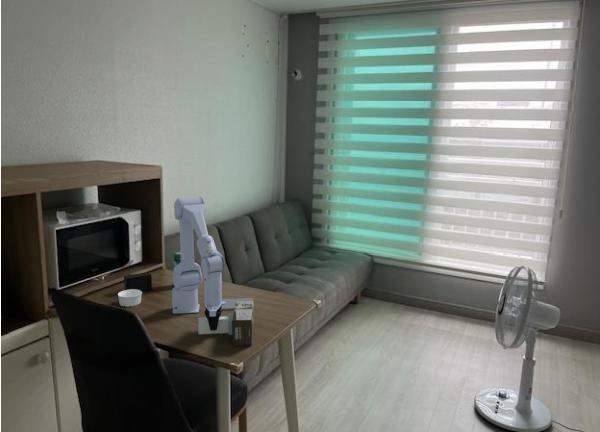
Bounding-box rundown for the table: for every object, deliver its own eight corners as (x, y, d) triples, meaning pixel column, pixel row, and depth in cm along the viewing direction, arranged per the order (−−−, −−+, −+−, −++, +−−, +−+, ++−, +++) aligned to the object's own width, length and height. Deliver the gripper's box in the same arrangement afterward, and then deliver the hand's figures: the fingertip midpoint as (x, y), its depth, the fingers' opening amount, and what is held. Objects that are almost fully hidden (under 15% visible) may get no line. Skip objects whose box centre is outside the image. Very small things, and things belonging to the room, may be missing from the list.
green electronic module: (174, 283, 204) (172, 251, 201) (187, 282, 206) (187, 250, 203) (175, 288, 198) (174, 254, 196) (189, 286, 201) (188, 253, 198)
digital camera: (148, 286, 200) (148, 271, 199) (152, 290, 196) (151, 274, 194) (123, 290, 195) (123, 274, 193) (126, 294, 190) (126, 278, 189)
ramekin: (119, 300, 184) (118, 290, 183) (142, 298, 186) (141, 288, 186) (117, 308, 176) (117, 298, 175) (142, 306, 178) (141, 295, 177)
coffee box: (235, 301, 161) (231, 319, 145) (253, 300, 162) (252, 319, 146) (235, 325, 163) (231, 346, 147) (253, 325, 163) (252, 346, 148)
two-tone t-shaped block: (198, 336, 153) (197, 322, 152) (199, 328, 159) (198, 315, 158) (232, 335, 155) (232, 321, 154) (231, 327, 161) (231, 314, 160)
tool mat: (206, 310, 175) (206, 309, 175) (207, 301, 185) (207, 299, 185) (254, 308, 178) (254, 307, 178) (252, 299, 188) (252, 298, 187)
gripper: (225, 297, 148) (225, 336, 150) (225, 282, 162) (225, 318, 165) (202, 298, 147) (203, 338, 149) (204, 283, 161) (205, 319, 163)
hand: (213, 328), depth 157 cm, fingers closed on two-tone t-shaped block, 2 cm apart
